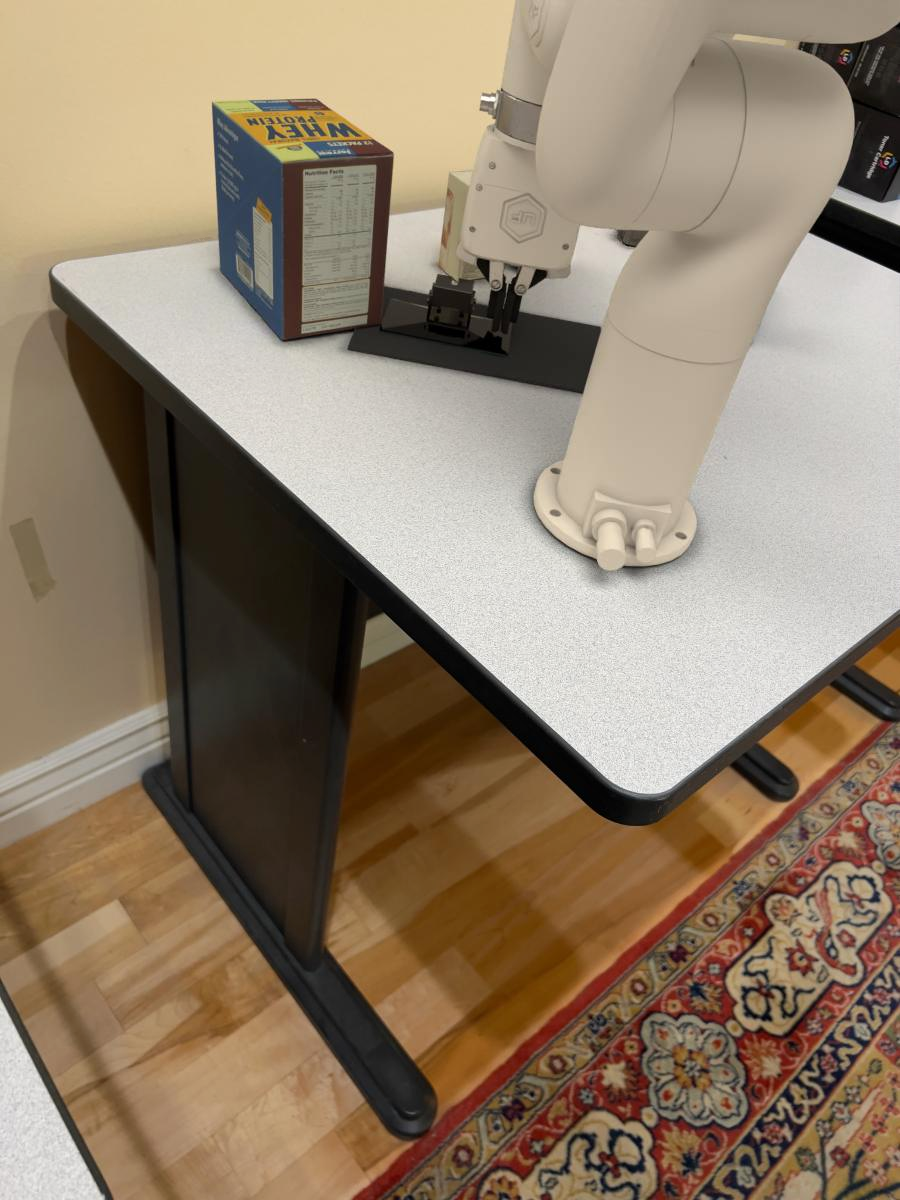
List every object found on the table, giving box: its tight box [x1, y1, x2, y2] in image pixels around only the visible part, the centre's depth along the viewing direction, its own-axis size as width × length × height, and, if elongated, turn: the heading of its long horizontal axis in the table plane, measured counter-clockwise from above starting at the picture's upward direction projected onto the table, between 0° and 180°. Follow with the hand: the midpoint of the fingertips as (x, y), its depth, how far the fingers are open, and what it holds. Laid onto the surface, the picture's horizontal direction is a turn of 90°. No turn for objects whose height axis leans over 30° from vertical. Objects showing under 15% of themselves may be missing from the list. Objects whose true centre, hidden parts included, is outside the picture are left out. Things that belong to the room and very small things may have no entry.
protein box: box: [211, 98, 395, 340], centre depth 81 cm, size 10×15×16 cm
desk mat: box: [347, 285, 602, 394], centre depth 86 cm, size 14×24×1 cm, turn 85°
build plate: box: [379, 273, 512, 357], centre depth 85 cm, size 12×7×5 cm, turn 84°
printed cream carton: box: [437, 168, 486, 282], centre depth 94 cm, size 5×4×10 cm
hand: (499, 326), depth 85 cm, fingers closed
